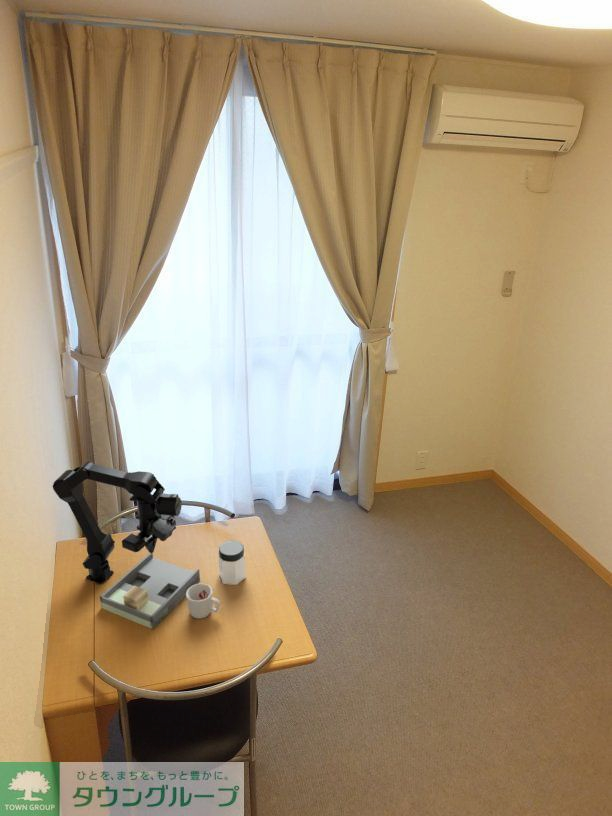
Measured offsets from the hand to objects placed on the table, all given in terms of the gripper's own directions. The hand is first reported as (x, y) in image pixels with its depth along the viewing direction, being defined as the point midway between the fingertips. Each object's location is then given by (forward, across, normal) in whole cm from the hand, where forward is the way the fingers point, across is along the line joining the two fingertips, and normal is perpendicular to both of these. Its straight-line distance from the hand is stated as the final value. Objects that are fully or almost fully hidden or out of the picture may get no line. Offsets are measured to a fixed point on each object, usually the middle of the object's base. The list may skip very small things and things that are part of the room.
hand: (151, 552), depth 176 cm
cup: (+12, -4, -23) cm, 26 cm away
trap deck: (+12, -5, -3) cm, 13 cm away
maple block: (+9, -12, -4) cm, 16 cm away
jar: (+12, +14, -22) cm, 28 cm away
